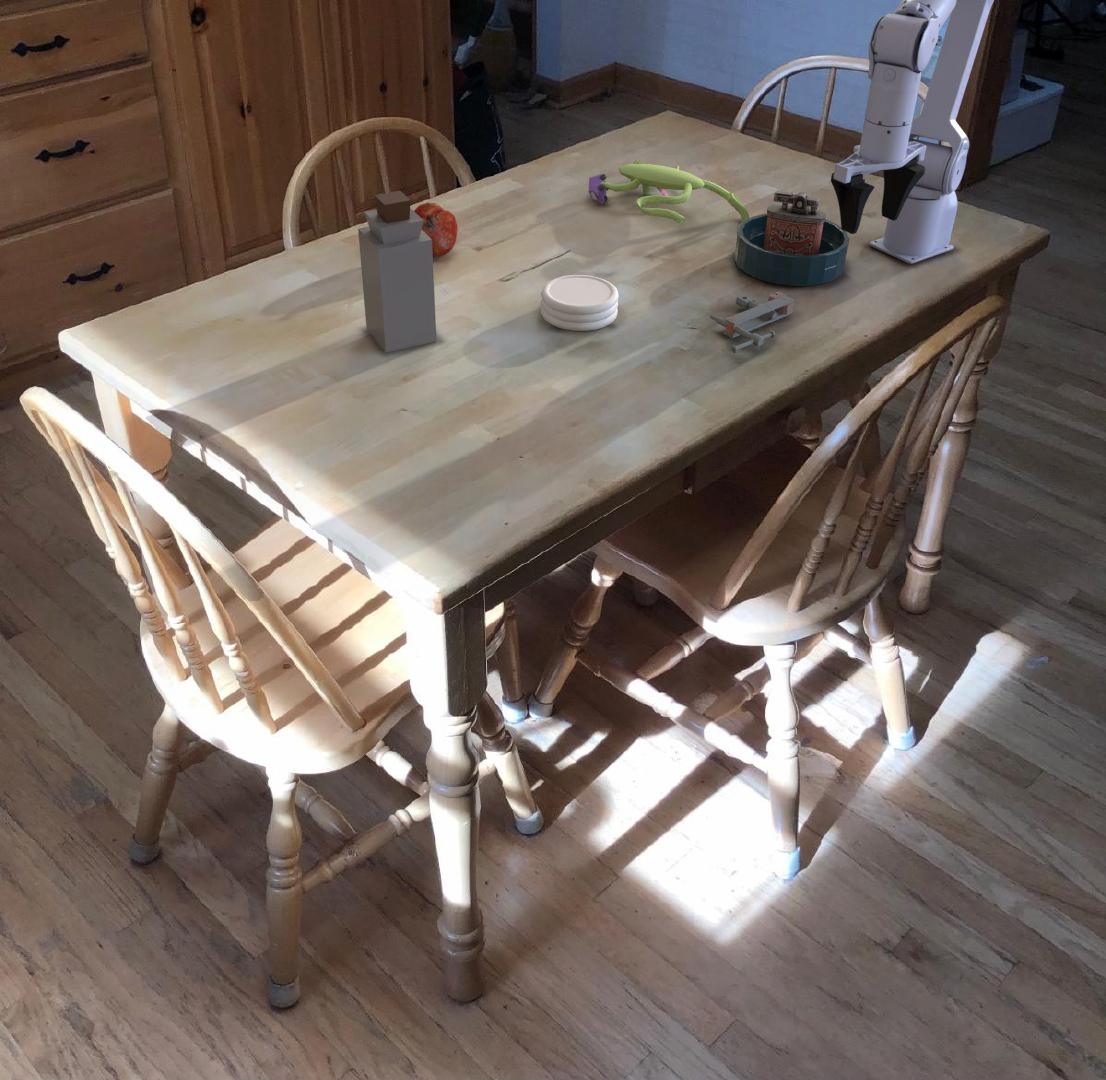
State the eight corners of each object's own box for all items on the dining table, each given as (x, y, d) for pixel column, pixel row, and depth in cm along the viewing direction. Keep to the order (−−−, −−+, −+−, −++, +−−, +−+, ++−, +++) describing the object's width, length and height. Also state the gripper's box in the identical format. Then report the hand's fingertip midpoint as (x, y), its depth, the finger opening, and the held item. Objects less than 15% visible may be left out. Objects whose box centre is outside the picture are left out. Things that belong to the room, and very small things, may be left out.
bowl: (789, 233, 181) (793, 204, 178) (866, 270, 171) (871, 240, 169) (712, 257, 174) (715, 227, 171) (788, 297, 164) (792, 266, 161)
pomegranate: (408, 258, 177) (390, 241, 167) (420, 209, 177) (403, 189, 167) (456, 270, 176) (442, 253, 166) (469, 220, 176) (455, 201, 166)
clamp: (762, 282, 163) (819, 309, 157) (760, 297, 164) (816, 325, 158) (680, 314, 155) (737, 344, 149) (679, 329, 156) (735, 360, 150)
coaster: (529, 324, 157) (529, 299, 155) (556, 292, 164) (556, 268, 162) (603, 338, 154) (604, 313, 152) (627, 305, 162) (628, 280, 159)
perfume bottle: (386, 352, 150) (375, 212, 139) (366, 329, 155) (355, 192, 144) (436, 341, 153) (430, 203, 142) (415, 318, 158) (408, 183, 147)
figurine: (657, 252, 175) (660, 214, 172) (565, 188, 194) (566, 153, 190) (761, 228, 182) (766, 192, 179) (663, 169, 201) (666, 135, 197)
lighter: (819, 261, 173) (830, 193, 167) (815, 271, 170) (826, 202, 164) (763, 252, 175) (772, 185, 169) (758, 262, 172) (767, 193, 166)
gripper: (903, 100, 156) (884, 202, 164) (823, 120, 149) (807, 226, 157) (947, 115, 151) (924, 219, 160) (866, 137, 145) (847, 245, 153)
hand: (869, 224), depth 158 cm, fingers open, 7 cm apart
